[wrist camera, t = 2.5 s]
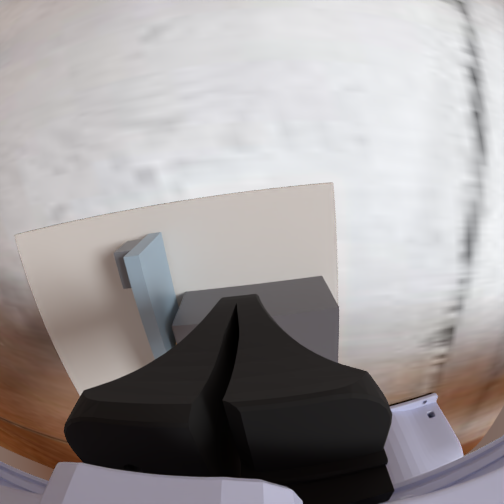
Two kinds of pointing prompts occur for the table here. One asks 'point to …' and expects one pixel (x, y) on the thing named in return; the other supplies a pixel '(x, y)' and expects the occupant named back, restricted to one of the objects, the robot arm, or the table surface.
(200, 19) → the table surface
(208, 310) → the camera housing
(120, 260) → the side door
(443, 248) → the table surface
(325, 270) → the mat
